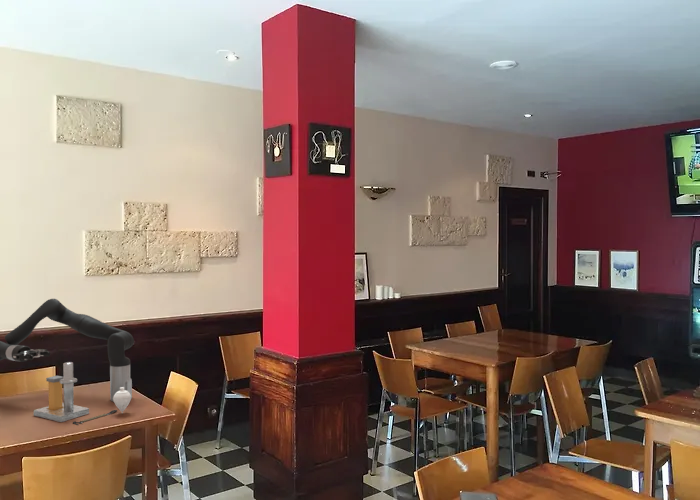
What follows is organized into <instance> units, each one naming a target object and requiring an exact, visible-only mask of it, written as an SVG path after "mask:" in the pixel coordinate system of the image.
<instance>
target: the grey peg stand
mask: <svg viewBox="0 0 700 500" xmlns="http://www.w3.org/2000/svg"><path fill="white" fill-rule="evenodd" d="M62 364H63V365H62V367H63V370H62V373H63V376H62V377H63V379H61V380H60V384H62V387H63V402H62V408H61V409H58V410H54V411H53V410H49V405H48V406H44V407H41V408H37V409H34V410H33V416H34V417H38V418H40V419H41V418H42V419H46V420H50V421H54V422H59V423H64V422H66V421H70V420H72V419H73V420H74V419H77V418H79V417H83V416H87V415H88V414H90V408H89V407H86V406H85V407H84V406H80V405H76V404H75V403H74V400H75V399H74V383H77V382H78V378H76V377H74V362H72V361H67V362H64V363H62Z"/></svg>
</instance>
